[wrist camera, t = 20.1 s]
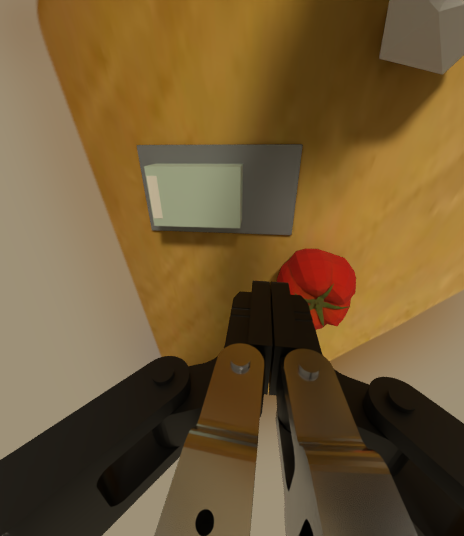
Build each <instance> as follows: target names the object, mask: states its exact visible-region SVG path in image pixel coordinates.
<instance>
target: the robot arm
mask: <svg viewBox="0 0 464 536" xmlns="http://www.w3.org/2000/svg"><path fill="white" fill-rule="evenodd" d="M268 384H269V395H276V396H277V412H276V426H277V435H278V444H279V452H280V461H281V469H282V478H283V485H284V500H285V531H286V536H464V424H463V423H462V422H461V421H459V420H458V419H456V418H455V417H454V416H452V415H451V414H450V413H448V412H447V411H445V410H444V409H443V408H441V407H440V406H438V405H437V404H436V403H434V402H433V401H432V400H430V399H429V398H427V397H426V396H425V395H423V394H422V393H420V392H419V391H417V390H416V389H415V388H413V387H412V386H410V385H409V384H407V383H405V382H403V381H401V380H398V379H395V378H390V377H379V378H376V379H374V380H373V381H372V382H371V383H370V385H369V384H366V383H363V382H360V381H358V380H355V379H352V378H349V377H347V376H345V375H342V374H341V373H339V372H337V371H336V370H334V368H333V366H332V365H331V363H330V362H329V361H328V360H327V359H326V358H325V357H324V356H323V355H322V352H321V348H320V345H319V341H318V337H317V334H316V330H315V327H314V323H313V319H312V316H311V312H310V308H309V305H308V303H307V302H306V300H305V299H304V298H303V297H302V296H301V295H291V294H290V288H289V283H285V282H271V283H270V282H266V281H253V283H252V292H239V293H238V294H237V295H236V296H235V297H234V299H233V304H232V309H231V316H230V320H229V326H228V331H227V336H226V342H225V346H224V349H223V350H222V351H221V352H220V353H219V355H218V356H217V357H216V358H215V359H213V360H211V361H209V362H207V363H203V364H198V365H193V366H188V365H187V364H186V362H185V361H184V360H182V359H180V358H178V357H175V356H165V357H161V358H158V359H155V360H154V361H152V362H150V363H149V364H147V365H146V366H144V367H143V368H141V369H140V370H138V371H136V372H135V373H133V374H132V375H130V376H129V377H127V378H126V379H124V380H123V381H121V382H120V383H118V384H117V385H115V386H113V387H112V388H110V389H109V390H107V391H106V392H104V393H103V394H101V395H100V396H98V397H97V398H95V399H93V400H92V401H90V402H89V403H87V404H86V405H85V406H83V407H81V408H80V409H78V410H77V411H75V412H73V413H72V414H71V415H69V416H67V417H66V418H64V419H63V420H61V421H60V422H58V423H57V424H55V425H54V426H52V427H50V428H49V429H47V430H46V431H44V432H43V433H41V434H40V435H38V436H37V437H35V438H34V439H32V440H31V441H29V442H28V443H26V444H24V445H23V446H21V447H20V448H18V449H17V450H15V451H14V452H12V453H11V454H9V455H7V456H6V457H4V458H3V459H1V460H0V536H102V535H103V534H104V533H105V532H106V531H107V530H108V529H109V528H110V527H111V526H112V525H113V524H114V523H115V522H116V521H117V520H118V519H119V518H120V517H121V516H122V515H123V514H124V513H125V512H126V511H127V510H128V509H129V507H130V506H132V505H133V504H134V503H135V501H136V500H137V499H138V498H139V497H140V496H141V495H142V494H143V493H144V492H145V491H146V490H147V489H148V488H149V487H150V486H151V485H152V484H153V483H154V482H155V481H156V480H157V479H158V478H159V477H160V476H161V475H162V474H163V473H164V472H165V471H166V470H167V469H168V468H169V467H170V466H171V465H172V464H173V463H174V462H175V461H176V460H177V459H178V458H179V457H180V458H179V461H178V464H177V467H176V470H175V474H174V477H173V480H172V483H171V486H170V489H169V492H168V495H167V498H166V501H165V505H164V507H163V510H162V513H161V517H160V520H159V523H158V526H157V529H156V532H155V535H154V536H250V529H251V517H252V505H253V494H254V481H255V470H256V458H257V446H258V433H259V420H260V417H261V414H262V407H263V397H264V394H266V395H267V393H268Z"/></svg>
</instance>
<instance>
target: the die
mask: <svg viewBox="0 0 464 536" xmlns="http://www.w3.org/2000/svg"><path fill="white" fill-rule="evenodd" d="M463 55H464V0H389V5H388V11H387V16H386V22H385V28H384V33H383V39H382V45H381V50H380V56H379V59H383V60H387V61H391V62H395V63H399V64H403V65H407V66H411V67H415V68H419V69H423V70H427V71H430V72H434V73H438V74H442V75H443V74H444V73H445V72H446V71H447V70H448V69H449V68H450V67H451V66H453V65H454V64H455V63H456V62H457V61H458V60H459V59H460V58H461V57H462V56H463Z"/></svg>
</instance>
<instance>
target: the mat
mask: <svg viewBox="0 0 464 536" xmlns="http://www.w3.org/2000/svg"><path fill="white" fill-rule="evenodd" d="M302 146H303V145H302V144H291V145H137V150H138V155H139V161H140V166H141V172H142V178H143V183H144V189H145V194H146V200H147V205H148V211H149V216H150V222H151V227H152V230H161V231H190V232H218V233H247V234H275V235H291V234H292V226H293V218H294V210H295V202H296V194H297V186H298V178H299V170H300V162H301V154H302ZM152 164H243V193H242V222H241V227H240V228H212V227H179V226H154V221H153V215H152V209H151V203H150V198H149V192H148V186H147V181H146V175H145V169H144V166H148V165H152Z"/></svg>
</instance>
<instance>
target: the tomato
mask: <svg viewBox="0 0 464 536" xmlns="http://www.w3.org/2000/svg"><path fill="white" fill-rule="evenodd" d="M277 282H285V283H289V288H290V294H291V295H301V296H302V297H303V298H304V299H305V300H306V302H307V303H308V305H309V308H310V312H311V316H312V319H313V323H314V327H315V330H317V329H321V328H323V327H324V326H325V325H326V324H330V325H334V326H338V324H339V323H340V322H341V321H342V320H343V319H344V317H345V315H346V313H347V311H348V309H349V307H350V300H351V297H352V296H353V295H354V294H355V289H356V277H355V272H354V270H353V269H352V267H351V266H350V264H349V263H348V262H347V260H346V259H345V258H343V257H340V256H337V255H334V254H331V253H328V252H325V251H322V250H319V249H302V250H299V251H296V252H295V253H294V254H293V256H292V257H291V258H290V259H289V260H288V261H287V262H286V263H284V264H283V266H282V267H281V270H280V272H279V275H278V277H277Z"/></svg>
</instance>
